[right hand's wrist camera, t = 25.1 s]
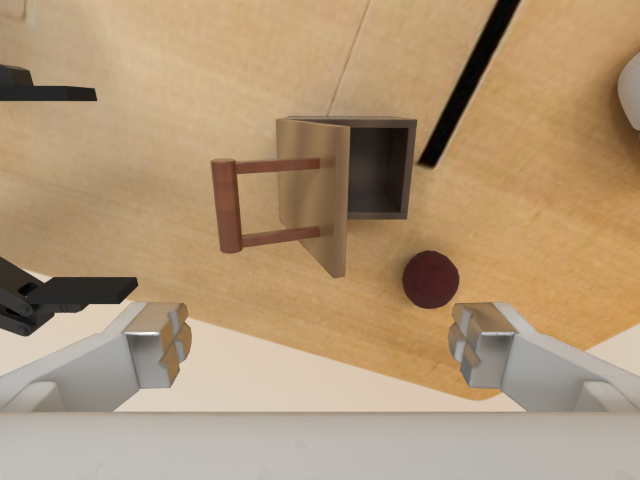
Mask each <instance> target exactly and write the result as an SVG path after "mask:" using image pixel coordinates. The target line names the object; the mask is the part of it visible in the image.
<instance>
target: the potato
mask: <svg viewBox="0 0 640 480" xmlns="http://www.w3.org/2000/svg"><path fill="white" fill-rule="evenodd" d="M402 281H403V287H404V291H405V293H406V295H407V297H408V298H409V299H410V300H411V301H412V302H413V303H414V304H415V305H417V306H419V307H421V308H426V309H434V308H438V307H442V306H444V305H446V304H447V303H448V302H449V301H450V300H451V299H452V297H453V296H454V295H455V293H456V291H457V289H458V285H459V274H458V270H457V268H456V267H455V266H454V264H453V263H452V262H451V261H450V260H449V259H448V258H447V257H446V256H444V255H442V254H440V253H438V252H436V251H424V252H421V253H418V254H417V255H416V256H415V257H413V258H412V259H411V260H410V262H409V263H408V264H407V266H406V267H405V270H404V274H403V278H402Z"/></svg>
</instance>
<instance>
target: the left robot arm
mask: <svg viewBox="0 0 640 480" xmlns="http://www.w3.org/2000/svg"><path fill="white" fill-rule="evenodd" d="M0 101H97V97H96V92H95V88H83V87H71V86H34V85H33V81H32V78H31V74H30V71H29V70H26V69H24V68H21V67H16V66H8V65H1V64H0ZM137 286H138V282H137V278H136V277H53V278H52V279H50V280H49V281H47V282H46V283H43V282H42V281H40V280H38V279H37V278H35V277H33V276H32V275H30V274H28V273H27V272H25V271H23V270H22V269H20V268H18V267H17V266H15V265H13V264H12V263H10V262H8V261H7V260H5V259H3V258H2V257H0V328H1V329H4V330H7V331H10V332H12V333H15V334H18V335H21V336H29V335H31V334H32V333H33V332H34V331H36V330H37V329H38V328H40V327H41V326H42V325H43V324H45V323H46V322H47V321H48V320H50V319H51V318H52V317H53V316H54V313H62V312H63V313H68V312H69V313H76V312H79V311H82V310H83V309H84V308H85V307H87V306H88V305H89V304H120V303H121V302H122V301H123V300H124V299H125V298H126V297H127V296H128V295H129V294H130V293H131V292H132V291H133V290H134V289H135V288H136V287H137ZM26 296H27V297H26Z"/></svg>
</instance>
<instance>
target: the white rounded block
mask: <svg viewBox="0 0 640 480" xmlns="http://www.w3.org/2000/svg"><path fill="white" fill-rule="evenodd" d="M618 95H619V99H620V102H621V105H622V107H623V109H624V111H625V114H626V116H627V118H628V120H629V121H630V123H631V125H632V127H633V128H634V129H636V130H639V131H640V52H639V53H637V54H636V55H635V56H634V57H633V58H632V59H631V60H630V61H629V62H628V63H627V65H626V66H625V67H624V69H623V70H622V72H621V74H620V76H619V79H618ZM639 140H640V133H639Z"/></svg>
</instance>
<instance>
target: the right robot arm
mask: <svg viewBox="0 0 640 480" xmlns="http://www.w3.org/2000/svg"><path fill="white" fill-rule="evenodd" d="M187 317H188V311H187V306H186V305H185V304H184V303H166V302H151V303H150V302H134V303H130V305H129V306H128V307H127V308H126V309H125V310H124V311H123V312H122V313H121V314H120V315H119V316H118V317H117V318H116V319H115V320H114V321H113V322H112V323H111V324H110V325H109V326H108V327H107V328H106V329H105V330H104V331H103V332H102V333H101V334H94V335H91V336H89V337H87V338H85V339H83V340H80V341H78V342H76V343H74V344H71V345H69V346H67V347H65V348H63V349H60V350H58V351H56V352H54V353H52V354H49V355H47V356H45V357H43V358H40V359H38V360H36V361H34V362H32V363H29V364H27V365H25V366H23V367H21V368H18V369H16V370H14V371H12V372H9V373H7V374H5V375H3V376H1V377H0V480H640V377H639V376H637V375H635V374H633V373H630V372H628V371H626V370H624V369H621V368H619V367H617V366H615V365H613V364H610V363H608V362H606V361H604V360H602V359H599V358H597V357H595V356H593V355H590V354H588V353H586V352H584V351H582V350H580V349H577V348H575V347H573V346H571V345H568V344H566V343H564V342H562V341H560V340H557V339H555V338H553V337H551V336H549V335H546V334H539V333H538V332H537V331H536V330H535V329H534V328H533V327H532V326H531V325H530V324H529V323H528V322H527V321H526V320H525V319H524V318H523V317H522V316H521V315H520V314H519V313H518V312H517V311H516V310H515V308H514V307H513V306H512V305H511V304H510V303H507V302H489V303H455V305H454V307H453V310H452V317H453V318H454V320H455V323H454V324H453V325H452V326H451V327H450V328H449V336H448V340H449V348H450V351H451V354H452V356H453V358H454V359H455V360H456V361H458V362H459V363H461V368H460V371H461V373H462V375H463V377H464V378H465V380H466V382H467V384H468V386H469V388H494V389H501V391H502V392H504V393H505V394H506V395H507V396H509V397H510V398H511V399H512V400H514V401H515V402H516V403H517V404H519V405H520V406H521V407H522V408H524V409H525V410H526V411H527V412H113V411H114V410H115V409H116V408H118V407H119V406H120V405H121V404H123V403H124V402H125V401H127V400H128V399H129V398H130V397H132V396H133V395H134V394H135V393H137V392H138V391H139V389H146V388H170V387H171V386H172V384H173V382H174V380H175V378H176V377H177V375H178V373H179V371H180V368H179V363H181V362H182V361H184V360H185V359H186V358H187V356H188V354H189V351H190V347H191V339H192V338H191V337H192V335H191V328H190V327H189V326H188V325H187V324H186V323H185V320H186V318H187Z"/></svg>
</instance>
